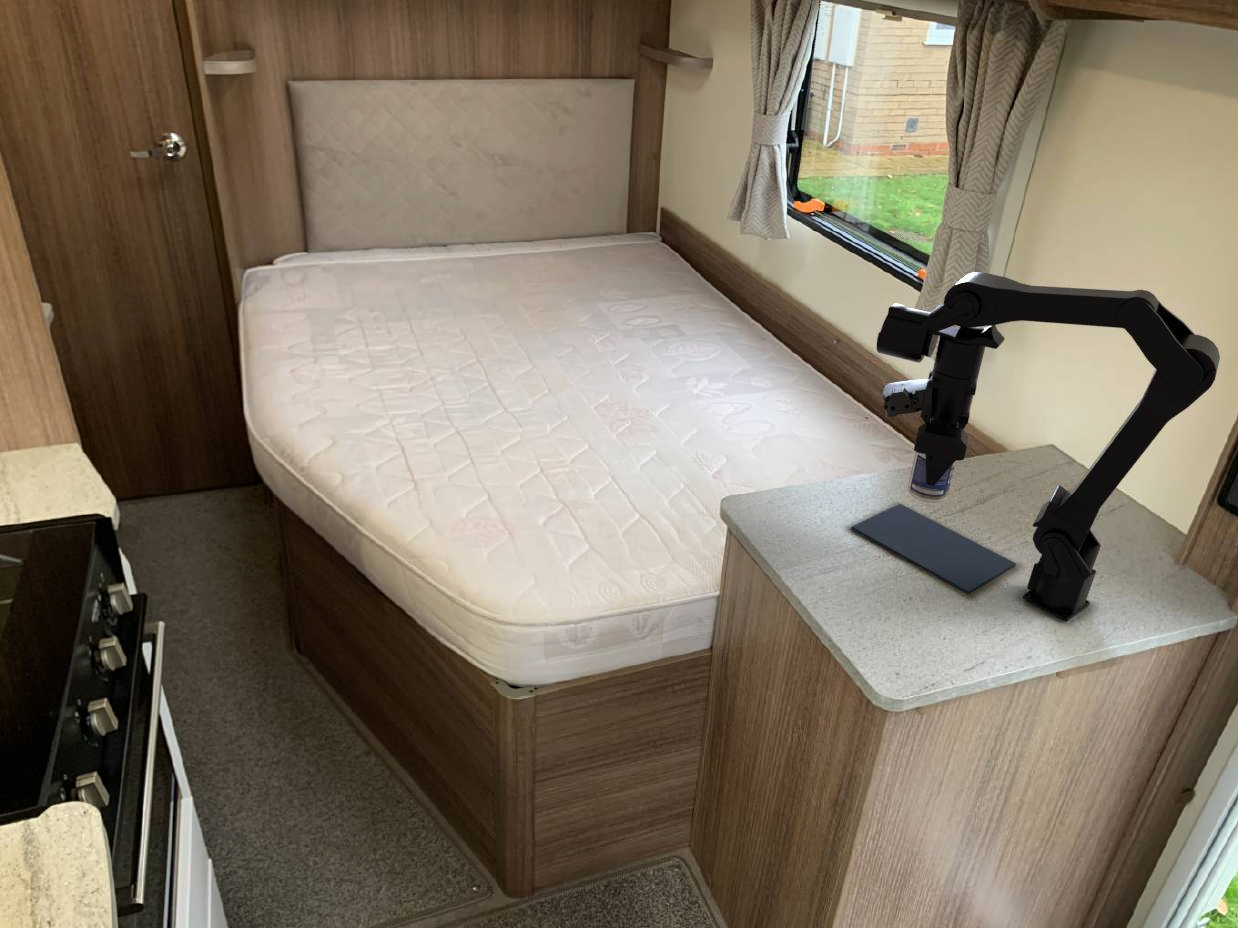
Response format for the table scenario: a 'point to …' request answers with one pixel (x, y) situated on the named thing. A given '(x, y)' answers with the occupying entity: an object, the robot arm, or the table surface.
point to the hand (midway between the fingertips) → (931, 475)
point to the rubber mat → (934, 548)
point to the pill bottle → (921, 489)
